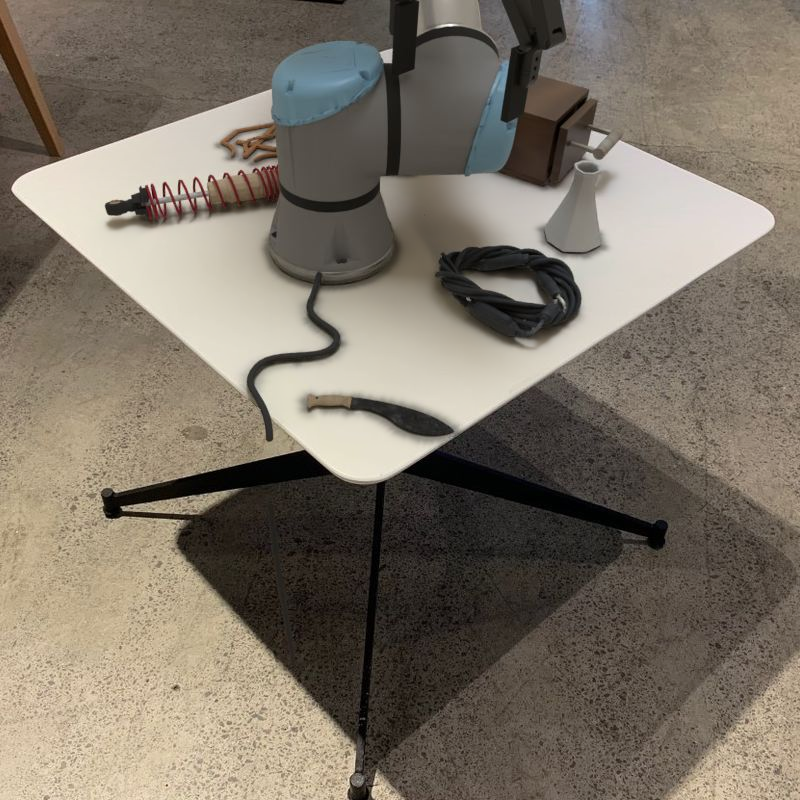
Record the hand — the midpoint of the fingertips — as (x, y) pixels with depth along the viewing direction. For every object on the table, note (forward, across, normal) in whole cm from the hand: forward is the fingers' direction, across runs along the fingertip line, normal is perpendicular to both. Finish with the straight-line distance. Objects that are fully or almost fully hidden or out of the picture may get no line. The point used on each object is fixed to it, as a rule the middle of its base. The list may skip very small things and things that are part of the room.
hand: (455, 94), depth 75 cm
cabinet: (+22, +11, -32) cm, 40 cm away
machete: (+22, -12, +22) cm, 33 cm away
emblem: (+22, +40, -8) cm, 47 cm away
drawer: (+21, +6, -32) cm, 39 cm away
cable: (+23, -7, -4) cm, 24 cm away
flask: (+22, -6, -20) cm, 30 cm away
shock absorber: (+21, +37, +20) cm, 47 cm away
